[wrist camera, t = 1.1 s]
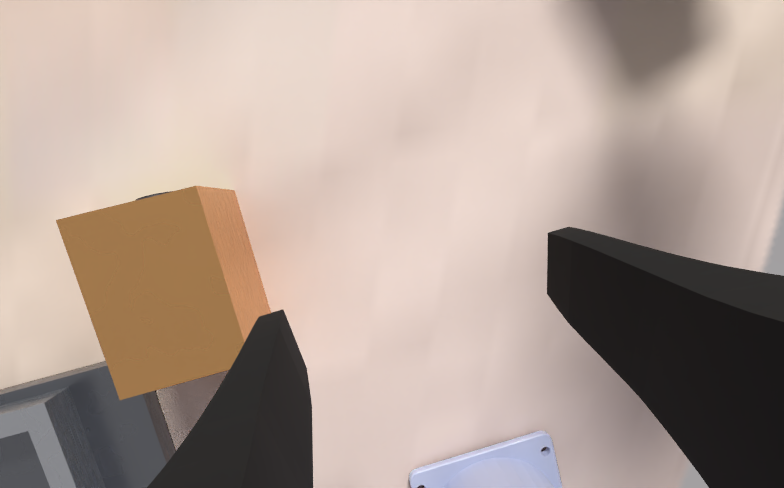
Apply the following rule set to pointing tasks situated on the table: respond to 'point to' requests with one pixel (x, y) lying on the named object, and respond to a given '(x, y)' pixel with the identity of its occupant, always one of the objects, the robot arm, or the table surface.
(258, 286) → the block
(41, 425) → the plate
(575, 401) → the table surface
